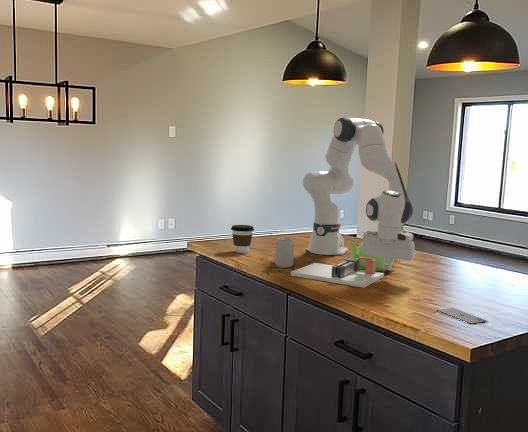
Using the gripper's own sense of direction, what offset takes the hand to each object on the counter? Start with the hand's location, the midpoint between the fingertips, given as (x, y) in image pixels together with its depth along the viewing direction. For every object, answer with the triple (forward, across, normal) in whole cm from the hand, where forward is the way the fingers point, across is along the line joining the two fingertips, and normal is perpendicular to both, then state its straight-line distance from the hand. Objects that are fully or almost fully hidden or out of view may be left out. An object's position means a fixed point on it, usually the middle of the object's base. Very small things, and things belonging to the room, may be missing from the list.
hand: (386, 268), depth 219 cm
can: (+4, -42, -6) cm, 43 cm away
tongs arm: (+2, -15, -10) cm, 18 cm away
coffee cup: (+4, -73, +10) cm, 74 cm away
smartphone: (+5, +35, -34) cm, 49 cm away
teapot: (+4, -11, +12) cm, 17 cm away
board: (+4, -17, -8) cm, 19 cm away
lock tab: (+3, -8, 0) cm, 9 cm away
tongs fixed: (+3, -14, -8) cm, 16 cm away
